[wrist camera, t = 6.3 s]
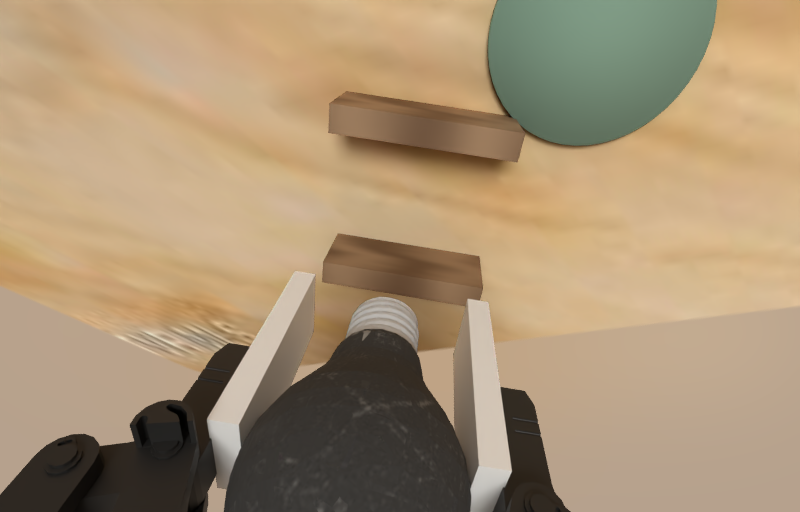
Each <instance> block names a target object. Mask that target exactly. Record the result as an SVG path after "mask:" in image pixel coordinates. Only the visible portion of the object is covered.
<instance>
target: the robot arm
mask: <svg viewBox="0 0 800 512" xmlns="http://www.w3.org/2000/svg"><path fill="white" fill-rule="evenodd" d="M315 275H316V274H312V273H305V272H299V271H295V272H294V274H293V275H292V277H291V279H290V280H289V282H288V284H287V285H286V287H285V289H284V290H283V292H282V294H281V295H280V297H279V299H278V300H277V302H276V304H275V306H274V307H273V309H272V311H271V312H270V314H269V316H268V317H267V319H266V321H265V322H264V324H263V326H262V327H261V329H260V331H259V332H258V334H257V336H256V337H255V339H254V341H253V342H252V344H251V346H244V345H238V344H232V343H228V344H227V345H226V346H224V347H223V348H222V349H220V350H219V351H217V352H216V353H215V354H214V355H213V357H212V358H211V360H210V361H209V362H208V364H207V365H206V368H205V369H204V370H203V371H202V373H201V374H200V376H199V377H198V380H196V382H195V383H194V384H193V386H192V387H191V389H190V390H189V392H188V393H187V394H186V396H185V397H184V399H183V400H182V401H178V400H166V401H161V402H157V403H155V404H153V405H150V406H148V407H146V408H145V409H143V410H142V411H141V412H140V413H139V414H137V415H136V416H135V418H134V419H133V421H132V422H131V424H130V428H131V431H132V434H133V438H134V442H129V443H122V444H114V445H105V446H99V444H98V442H97V441H96V440H95V438H94V437H91V436H89V435H86V434H73V435H69V436H66V437H63V438H59V439H57V440H55V441H54V442H52V443H50V444H48V445H46V446H45V447H44V448H43V449H42V450H40V451H39V452H38V453H37V454H36V455H35V456H34V457H33V458H32V459H31V460H30V462H29V463H28V464H27V465H26V466H25V467H24V468H23V469H22V471H21V472H20V473H19V474H18V475H17V476H16V478H15V479H14V480H13V481H12V482H11V483H10V484H9V485H8V487H7V488H6V489H5V490H4V491H3V492H2V493H1V495H0V512H207V507H208V493H207V492H208V490H209V488H210V486H211V484H212V482H213V480H214V478H215V476H216V482H217V488H222V489H227V486H228V483H229V478H230V474H231V472H232V469H233V466H234V463H235V460H236V458H237V456H238V453H239V451H240V449H241V447H242V445H243V442H244V440H245V439H246V437H247V436H248V434H249V432H250V431H251V429H252V428H253V426H254V424H255V423H256V421H257V420H258V418H259V417H260V416H261V415H262V414H263V413H264V412H265V411H266V410H267V409H268V408H269V407H270V406H271V405H272V404H273V403H274V402H275V401H276V400H277V399H278V398H279V397H280V396H281V395H282V394H283V393H284V392H285V391H286V390H287V389H288V388H289V387H290V386H291V384H292V382H293V379H294V377H295V375H296V372H297V370H298V367H299V365H300V363H301V360H302V358H303V356H304V353H305V351H306V349H307V346H308V344H309V341H310V339H311V337H312V334H313V332H314V308H315ZM453 358H454V424H455V425H454V426H455V433H456V436H457V438H458V440H459V443H460V445H461V448H462V450H463V453H464V456H465V458H466V465H467V471H468V477H469V484H470V491H471V508H470V512H570V511H569V510H568V509H567V508H565V506H564V504H563V502H562V500H561V499H560V498H559V497H558V496H557V495H556V493H555V492H554V489H553V487H552V484H551V479H550V474H549V469H548V465H547V461H546V456H545V451H544V447H543V442H542V438H541V437H540V434H541V433H540V429H539V424H538V419H537V415H536V411H535V406H534V404H533V403H532V401H531V400H530V398H529V397H528V395H527V394H526V392H525V391H521V390H515V389H509V388H503V387H500V382H499V375H498V368H497V361H496V353H495V346H494V339H493V332H492V325H491V317H490V310H489V303H488V302H485V301H479V300H473V299H467V303H466V307H465V311H464V315H463V319H462V323H461V327H460V330H459V334H458V338H457V342H456V346H455V350H454V354H453Z"/></svg>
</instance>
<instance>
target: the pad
mask: <svg viewBox="0 0 800 512" xmlns="http://www.w3.org/2000/svg"><path fill="white" fill-rule="evenodd" d="M716 7H717V0H497V3H496V5H495V8H494V12H493V15H492V19H491V23H490V29H489V36H488V62H489V70H490V74H491V78H492V82H493V85H494V87H495V90H496V93H497V95H498V97H499V98H500V100H501V102H502V104H503V106H504V107H505V109H506V110H507V111H508V113H509V114H510V115H511V116H512V117H513V119H517V121H518V123H519V124H520V125H521V126H522V127H523V128H525V129H526V130H527V131H529V132H530V133H532V134H534V135H536V136H538V137H539V138H542V139H545V140H547V141H550V142H554V143H558V144H563V145H573V146H581V145H593V144H599V143H604V142H607V141H611V140H614V139H617V138H620V137H622V136H625V135H627V134H629V133H631V132H633V131H635V130H637V129H639V128H640V127H642V126H644V125H645V124H647V123H648V122H649V121H651V120H652V119H654V118H655V117H656V116H658V115H659V114H660V113H661V112H662V111H664V110H665V109H666V108H667V107H668V106H669V105H670V104H671V103H672V102H673V101H674V100H675V99H676V98H677V97H678V95H679V94H680V93H681V92H682V90H683V89H684V88H685V87H686V85H687V84H688V83H689V81H690V80H691V78H692V77H693V75H694V73H695V72H696V70H697V68H698V66H699V65H700V63H701V61H702V59H703V57H704V55H705V52H706V49H707V47H708V44H709V41H710V38H711V35H712V31H713V27H714V23H715V15H716Z"/></svg>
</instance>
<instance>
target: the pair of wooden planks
mask: <svg viewBox="0 0 800 512" xmlns="http://www.w3.org/2000/svg"><path fill="white" fill-rule="evenodd" d="M328 133H332V134H339V135H345V136H352V137H358V138H365V139H371V140H377V141H384V142H390V143H397V144H403V145H409V146H416V147H422V148H429V149H435V150H442V151H448V152H454V153H461V154H467V155H474V156H480V157H487V158H493V159H499V160H506V161H512V162H518V158H519V155H520V151H521V147H522V144H523V140H524V136H525V132H524V130H523V129H522V127H521V126H520V124H519V123H518V121H517V119H513V117H511V116H505V115H498V114H492V113H485V112H478V111H472V110H465V109H459V108H452V107H446V106H439V105H433V104H426V103H420V102H413V101H406V100H400V99H393V98H387V97H380V96H374V95H367V94H361V93H354V92H348V91H346V92H345V93H343V94H342V95H341V96H339V97H338V98H336V99H335V100H334V101H332V102H331V103H330V107H329V131H328ZM322 282H325V283H331V284H337V285H343V286H349V287H355V288H361V289H367V290H373V291H379V292H385V293H391V294H397V295H403V296H409V297H415V298H421V299H427V300H433V301H439V302H445V303H451V304H457V305H463V306H466V303H467V299H473V300H479V301H480V298H481V294H482V290H483V284H482V276H481V267H480V258H479V256H473V255H467V254H461V253H454V252H448V251H442V250H436V249H430V248H424V247H418V246H411V245H405V244H399V243H393V242H387V241H381V240H374V239H368V238H362V237H356V236H350V235H344V234H338V235H337V237H336V238H335V240H334V242H333V244H332V246H331V248H330V250H329V252H328V254H327V256H326V258H325V260H324V261H323V277H322Z"/></svg>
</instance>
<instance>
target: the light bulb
mask: <svg viewBox="0 0 800 512" xmlns="http://www.w3.org/2000/svg"><path fill="white" fill-rule="evenodd" d="M418 338H419V331H418V322H417V318H416V315H415V313H414V312H413V311H412V309H411V308H410V307H409V306H407V305H406V304H405V303H403V302H401V301H399V300H397V299H394V298H389V297H377V298H372V299H370V300H367V301H365V302H364V303H362V304H361V305H360V306H359V307H358V308H357V310H356V311H355V312H354V314H353V316H352V319H351V322H350V324H349V328H348V331H347V335H346V338H345V340H344V341H342V342H341V343H340V345H339V346H338V347H337V348H336V350H335V352H334V353H333V355H332V357H331V358H330V360H329V361H328V362H327V363H326V364H325V365H323V366H322V367H320V368H319V369H317V370H316V371H314V372H313V373H311V374H309V375H308V376H306V377H305V378H303V379H302V380H300V381H298V382H297V383H295V384H294V385H292V386H290V387H289V388H288V389H287V390H286V391H285V392H284V393H283V394H282V395H281V396H280V397H279V398H278V399H277V400H276V401H275V402H274V403H273V404H272V405H271V406H270V407H269V408H268V409H267V410H266V411H265V412H264V413H263V414H262V415H261V416H260V417H259V418H258V420H257V421H256V423H255V424H254V426H253V428H252V429H251V431H250V432H249V434H248V436H247V437H246V439H245V440H244V442H243V445H242V447H241V449H240V451H239V453H238V456H237V458H236V460H235V463H234V466H233V469H232V472H231V474H230V478H229V483H228V486H227V491H226V498H225V508H224V512H470V508H471V491H470V484H469V477H468V471H467V465H466V458H465V456H464V453H463V450H462V448H461V445H460V443H459V440H458V438H457V436H456V433H455V431H454V428H453V426H452V425H451V423H450V421H449V420H448V418H447V415H446V413H445V412H444V411H443V409H442V408H441V406H440V405H439V404H438V402H437V401H436V399H435V398H434V397H433V395H432V394H431V392H430V391H429V390H428V388H427V387H426V385H425V383H424V381H423V376H422V369H421V365H420V360H419V357H418V355H417V347H418Z"/></svg>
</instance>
